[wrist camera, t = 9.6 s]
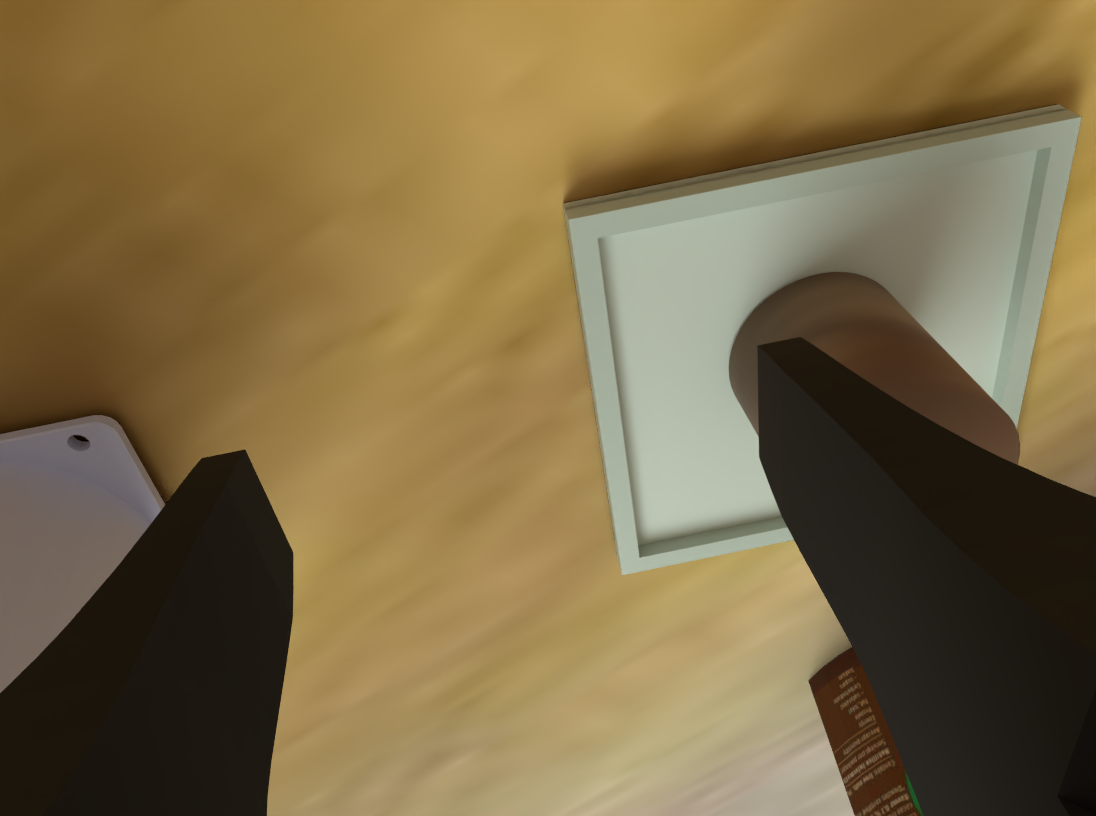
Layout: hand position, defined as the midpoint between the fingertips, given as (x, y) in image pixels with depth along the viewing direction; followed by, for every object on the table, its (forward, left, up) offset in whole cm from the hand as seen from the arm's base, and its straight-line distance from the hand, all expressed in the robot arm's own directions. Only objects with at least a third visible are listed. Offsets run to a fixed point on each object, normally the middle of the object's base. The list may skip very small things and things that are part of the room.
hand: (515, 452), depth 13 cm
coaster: (+8, -7, -10) cm, 15 cm away
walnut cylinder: (+8, -6, -9) cm, 14 cm away
